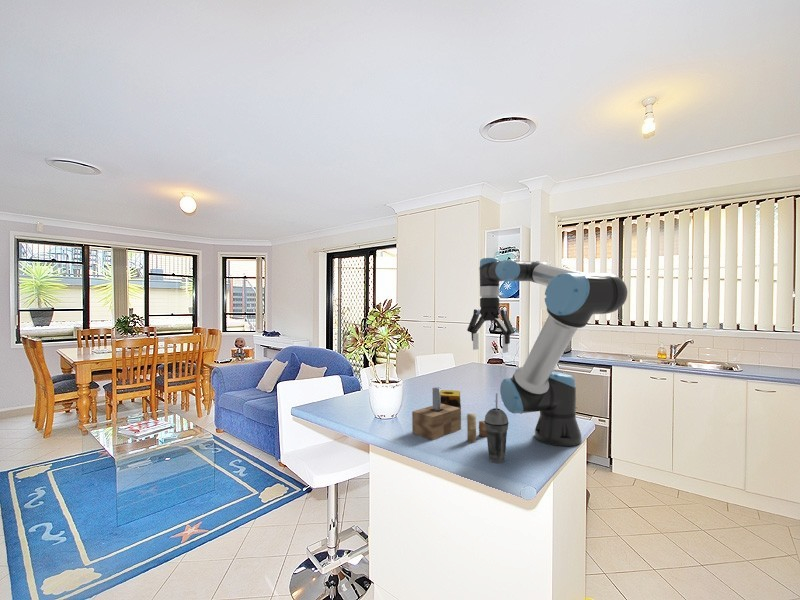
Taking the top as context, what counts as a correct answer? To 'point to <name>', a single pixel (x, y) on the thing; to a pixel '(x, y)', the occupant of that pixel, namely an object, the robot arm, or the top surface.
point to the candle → (450, 398)
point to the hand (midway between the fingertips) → (490, 350)
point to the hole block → (436, 421)
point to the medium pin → (471, 427)
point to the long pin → (436, 399)
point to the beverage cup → (496, 433)
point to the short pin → (482, 429)
